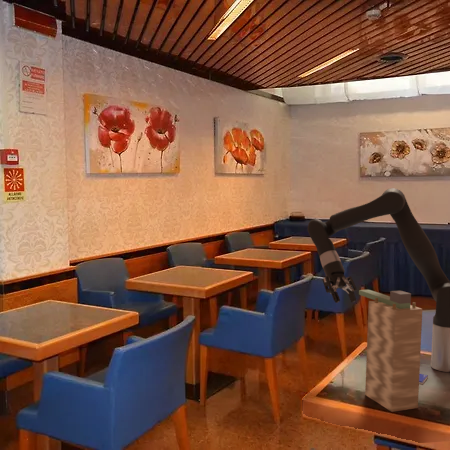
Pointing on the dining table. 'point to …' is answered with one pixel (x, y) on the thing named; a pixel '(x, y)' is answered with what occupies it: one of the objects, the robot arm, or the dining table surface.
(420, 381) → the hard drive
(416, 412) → the dining table surface
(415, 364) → the stand
